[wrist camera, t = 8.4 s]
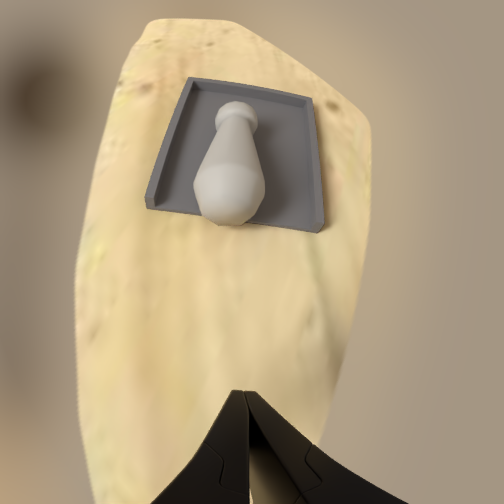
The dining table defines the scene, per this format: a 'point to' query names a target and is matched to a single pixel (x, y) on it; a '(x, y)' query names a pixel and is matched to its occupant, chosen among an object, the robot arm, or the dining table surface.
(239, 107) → the salt shaker
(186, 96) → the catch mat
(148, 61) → the dining table surface
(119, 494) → the dining table surface
